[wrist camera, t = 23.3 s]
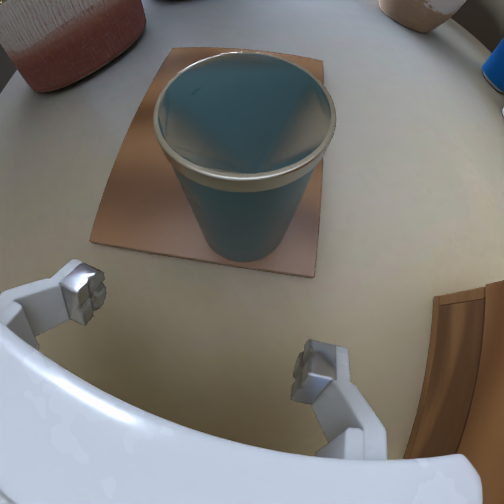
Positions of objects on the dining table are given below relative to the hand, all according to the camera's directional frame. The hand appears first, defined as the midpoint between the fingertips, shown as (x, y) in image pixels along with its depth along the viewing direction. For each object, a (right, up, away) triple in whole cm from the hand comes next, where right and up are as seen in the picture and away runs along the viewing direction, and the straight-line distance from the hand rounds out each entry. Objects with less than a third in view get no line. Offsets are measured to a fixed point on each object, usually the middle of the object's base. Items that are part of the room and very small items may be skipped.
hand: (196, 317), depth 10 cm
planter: (-20, +29, +15) cm, 38 cm away
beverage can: (+45, +33, +17) cm, 59 cm away
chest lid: (+16, -4, -7) cm, 18 cm away
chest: (+23, -9, +7) cm, 25 cm away
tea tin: (+1, +4, +9) cm, 10 cm away
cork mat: (0, +12, +11) cm, 17 cm away
